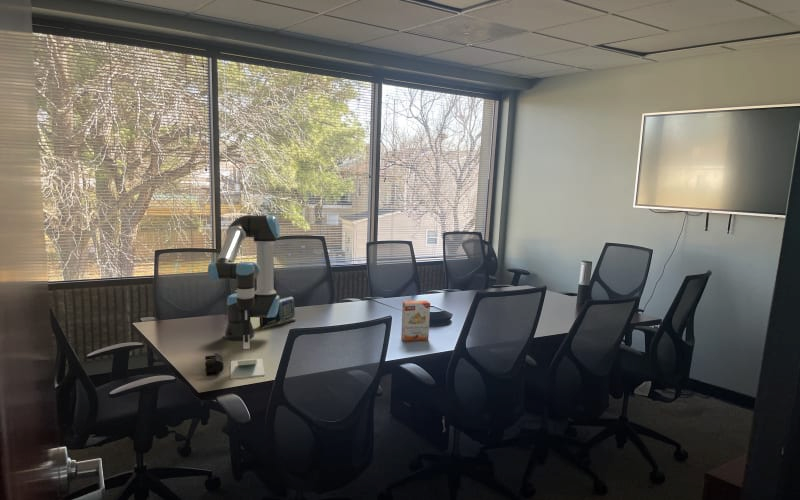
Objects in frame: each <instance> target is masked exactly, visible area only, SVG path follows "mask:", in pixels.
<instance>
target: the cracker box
mask: <svg viewBox="0 0 800 500" xmlns="http://www.w3.org/2000/svg"><path fill="white" fill-rule="evenodd" d="M401 312H402V313H401V335H400V336H401V337H400V338H401V340H402V341H403V342H416V341H418V342H419V341H421V342H422V341H429V337H430V335H429V334H430V316H431V315H430V313H431V303H430V302H429V301H428V300H408V301H407V300H405V301H404V300H403V301H402V309H401Z"/></svg>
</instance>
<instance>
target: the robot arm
mask: <svg viewBox="0 0 800 500" xmlns="http://www.w3.org/2000/svg"><path fill="white" fill-rule="evenodd" d="M278 220H279V219H278V218H277V217H276V216H275V215H268V214H266V215H264V214H263V215H262V214H261V215H260V214H259V215H253V214H246V215H242V216H239V217H238V218H236V219H235V220H233V222H232V223H230V224H229V226H228V228H227V230H226V237H225V241H224V242H223V245H222V248H221V250H220V253H219V255H218V257H217V260H216V262H215V261H214V262H210V263H209V264H208V266H207V275H208V277H209V279H210V280H235V281H236V283H235V284H236V289H235V290H234V292H235V293H231V294H230V295H228V296H227V299H226V308H227V309H226V310H227V311H226V312H227V324H226V327H225V330H224V334H223V335H224V339H225V340H228V341H242V342H243V346H242V349H243V350H246V349H247V350H249V349H250V348H251V347H250V344H251V343H250V339H251V338H253V337H254V336H255V330H254V326H253V323H252V322H251V318H259V317H267V318H268V317H275V316H276V315H277V312H278V308H279V302H280V299H281V298H280V295H278V294H277V290H275V289H274V287H275V286H274V281H275V279H274V275H275V274H274V271H275V270H274V244H276V242H277V239H279V238H280V234H281V233H280V231H281V230H280V224H279V221H278ZM246 238H252V239H253V242H254V243H255V244H256V262H254V261H239V262H235V261H236V258H237V255H238V253H239V250H240V247H241V245H242V242H243V241H245V239H246ZM255 279H256V289H255Z"/></svg>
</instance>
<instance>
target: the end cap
mask: <svg viewBox="0 0 800 500" xmlns="http://www.w3.org/2000/svg"><path fill="white" fill-rule="evenodd" d="M204 360H205V362H204V363H205V366H204V367H205V376H206V377H212V376H217V375H219V374H220V373H222V371H223V370H224V367H225V366H224V363H223V362H224V360H223V357H222V355H221V354H219V353H218V352H215V353H214V354H213V355H205V356H204Z"/></svg>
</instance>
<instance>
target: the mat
mask: <svg viewBox="0 0 800 500" xmlns="http://www.w3.org/2000/svg"><path fill="white" fill-rule="evenodd" d="M245 360H246V359H239V360H230V377H229V378H230V380H233V379H234V380H235V379H247V378H257V377H265V368H264V363H263V362H264V361H263V358H262V357H261V358H252V359H251V358H250V359H249V358H248V360H257V364H256V365H246V366H238V361H245Z"/></svg>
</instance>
